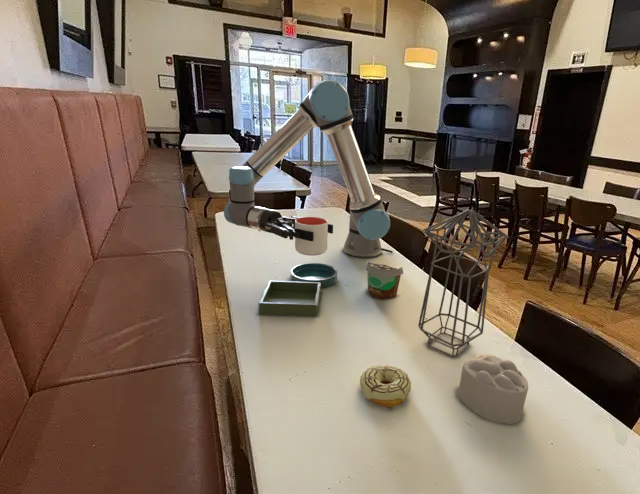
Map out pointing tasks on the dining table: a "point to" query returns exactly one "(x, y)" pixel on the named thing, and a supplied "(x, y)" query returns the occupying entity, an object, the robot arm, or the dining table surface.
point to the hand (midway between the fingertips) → (322, 232)
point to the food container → (382, 280)
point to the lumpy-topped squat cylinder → (493, 388)
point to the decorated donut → (385, 385)
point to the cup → (320, 236)
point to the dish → (314, 273)
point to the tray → (290, 298)
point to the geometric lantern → (459, 220)
